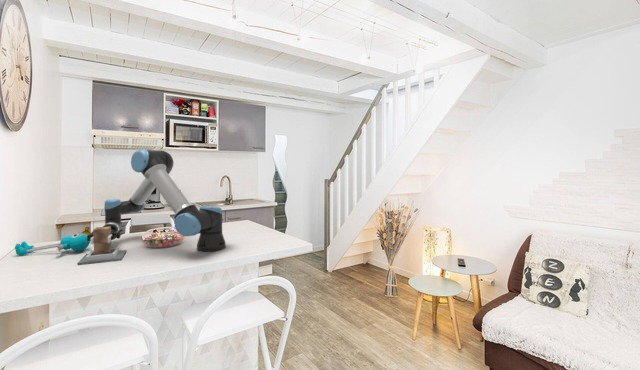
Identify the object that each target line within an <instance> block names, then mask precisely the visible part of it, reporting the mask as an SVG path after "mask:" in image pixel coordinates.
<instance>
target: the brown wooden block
mask: <svg viewBox="0 0 640 370" xmlns="http://www.w3.org/2000/svg"><path fill="white" fill-rule="evenodd" d="M92 231H93V238H94V243H93V250H94V255H97V254H108V253H110V252H111V250H112V248H113V247H112V241H111V242H110V243H108V236H109V235H110V234H111V227H103V226H100V227H99V226H97V227H95V228H94V229H93V230H92Z"/></svg>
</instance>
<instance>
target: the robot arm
mask: <svg viewBox="0 0 640 370" xmlns="http://www.w3.org/2000/svg"><path fill="white" fill-rule="evenodd" d="M130 166H131V169H132V170H133V171H134V172H136V173H141V174H142V175H143V177H144V180H142V182H141V184H140V185H139V186H138V188H137V189H136V190H135V191H134V192H133V194H132V196H131V197H130V198H129V199H128V200H124V201H123V200H122V201H121V200H120V198H110V199H106V200H105V201H104V203H103V204H104V205H103V206H104V225H103V226H102V227H111V234H110V235H109V236H108V243H110V242H111V243H112V241H114V240H116V239H118V240H119V239H121V236H122V235H123V229H122V227H123V223H122V215H127V214H132V213H138V212H141V211H143V210H144V209H145V202H146V201H147V199H148V198H149V197H150V196H151V194H152V193H153V192H154V191H155V190H156V189H157V191H158V192H159V193H160V195H161V196H162V198H163V199H164V200H165V202H166V203H167V205H168V206H169V208H171V210H172V212H173V214H174V217H173V219H174V228H175V231H177V233H178V234H179V235H181V236H183V237H194V236H197V235H198V234H199V236H198V240H197V243H196V250H197V251H200V252H216V251H220V250H224V249H225V248H226V246H227V245H226V240H225V237H224V234H223V210H222V208H221V207H220V206H210V205H209V206H206V205H205V206H202V205H201V206H200V207H199V209H198V207H197V206H196V205H195V204H194V203H193V204H192V203H191V202H189V200H188V198H187V197H186V196H185V195H184V193H183V192H182V191H181V189H180V187H178V185H177V184H176V183H175V181H174V180H173V178H172V177H171V175H169V174H170V173H171V172H172V170H173V167H174V159H173V157H172V155H171V154H170V153H169V152H167V151H165V150H160V149H159V150H157V149H156V150H155V149H146V148H145V149H138V150H135V151H134V152H133V154H132V156H131V159H130ZM87 241H90V245H94V238H93V230H92V231H91V232H90V233H89V234H87Z"/></svg>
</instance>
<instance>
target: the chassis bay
mask: <svg viewBox="0 0 640 370" xmlns="http://www.w3.org/2000/svg"><path fill="white" fill-rule="evenodd" d="M126 253H127V250H126V249H123V250H120V247H112V250H111V252H110V253H108V254H97V255H94V249H91V251H89V252H88V253H86V254H84V255H83V257H81V259H80V260H78V261H77V266H82V265H91V264H100V263H110V262H111V263H112V262H118V261H120V262H121V261H122V260H123V258H124V257H125V255H126Z"/></svg>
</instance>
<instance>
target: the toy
mask: <svg viewBox="0 0 640 370" xmlns="http://www.w3.org/2000/svg"><path fill="white" fill-rule="evenodd" d="M87 236H88V234H86V233H83V232H77V233H75V234H73V235H67V236H63V237H62V238H61V240H60V242H59V243H51V244H46V245H45V244H44V245H40V246H35V245H33V244H32V245H29V244H28V243H27V242H26V241H22V242H21V243H16V244H15V247H14V249H15V253H16V255H17V256H18V255H22V256H24V255H29V254H30V253H31V252H33V253H34V252H36V251H42V250H47V249H48V250H49V249H54V248H56V251H58V252H60V251H63V250H65V251H67V250H72V251H74V252H77V253H78V252H83V251H85V250H86V249H87V248H88V247H90V246H89V245H91V242H90V241H87Z"/></svg>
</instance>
